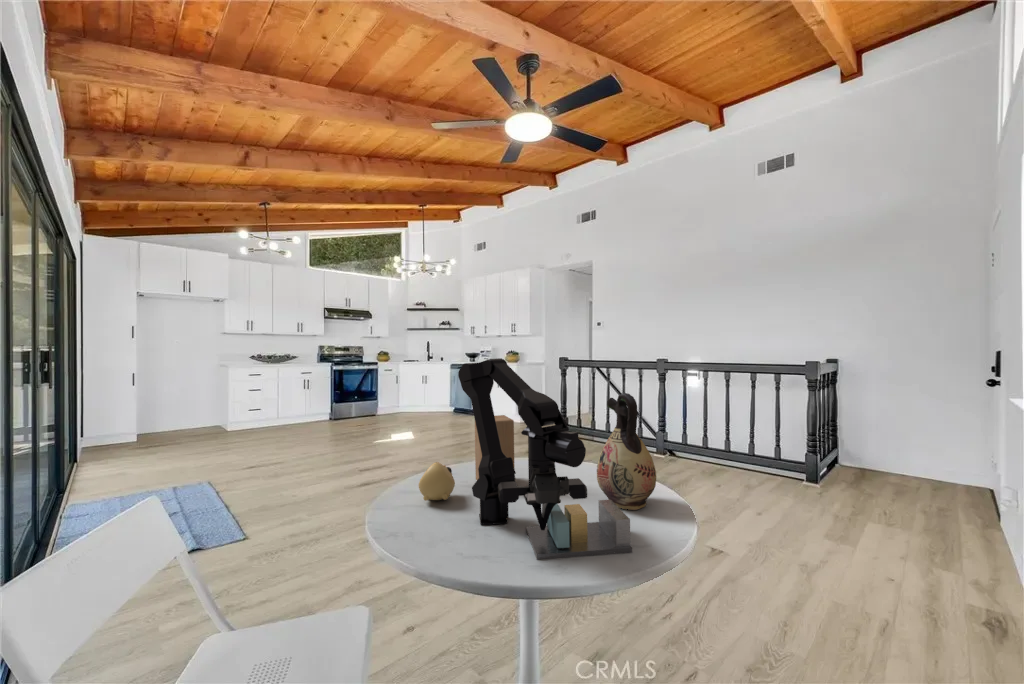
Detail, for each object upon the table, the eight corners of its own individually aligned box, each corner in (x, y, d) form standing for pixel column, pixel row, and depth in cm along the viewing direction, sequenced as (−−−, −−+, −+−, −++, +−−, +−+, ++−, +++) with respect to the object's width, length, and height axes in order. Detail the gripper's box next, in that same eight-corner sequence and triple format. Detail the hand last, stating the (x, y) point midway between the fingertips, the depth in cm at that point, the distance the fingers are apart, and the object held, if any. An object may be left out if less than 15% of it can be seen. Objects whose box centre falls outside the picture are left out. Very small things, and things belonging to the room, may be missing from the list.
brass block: (571, 543, 99) (571, 515, 99) (564, 531, 105) (564, 505, 105) (587, 542, 100) (587, 513, 100) (579, 530, 106) (579, 504, 106)
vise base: (536, 559, 94) (536, 527, 94) (526, 531, 108) (525, 503, 108) (632, 552, 97) (631, 521, 97) (609, 525, 111) (609, 498, 111)
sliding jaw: (557, 548, 96) (557, 523, 96) (547, 526, 107) (546, 504, 107) (569, 547, 97) (569, 522, 97) (557, 526, 108) (557, 503, 108)
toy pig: (457, 492, 137) (456, 455, 136) (453, 507, 125) (452, 467, 124) (423, 492, 136) (422, 456, 136) (415, 507, 124) (415, 467, 124)
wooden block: (475, 480, 148) (474, 416, 148) (505, 476, 151) (504, 414, 151) (482, 489, 138) (481, 422, 138) (515, 486, 141) (514, 419, 141)
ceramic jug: (588, 497, 130) (586, 389, 130) (638, 492, 134) (637, 387, 133) (614, 520, 114) (613, 397, 113) (672, 514, 117) (670, 394, 117)
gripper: (502, 470, 92) (503, 549, 93) (594, 465, 94) (595, 543, 95) (497, 456, 103) (498, 526, 104) (579, 452, 106) (580, 521, 106)
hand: (542, 529), depth 102 cm, fingers closed
